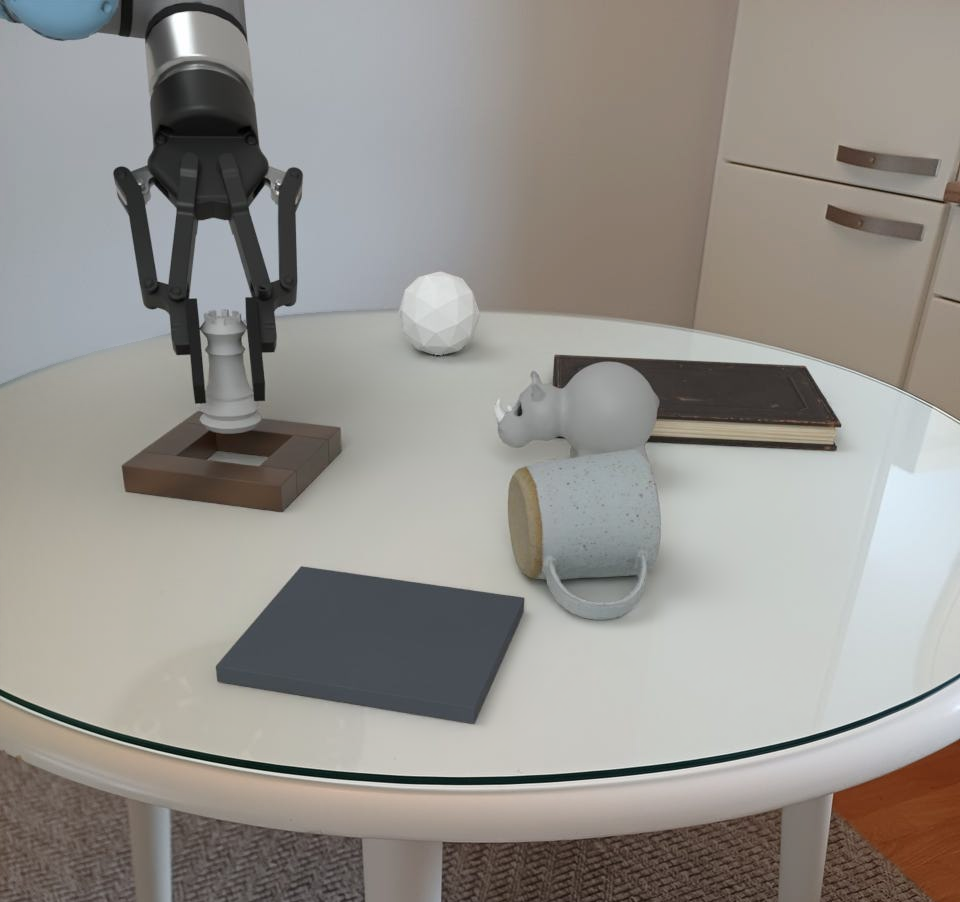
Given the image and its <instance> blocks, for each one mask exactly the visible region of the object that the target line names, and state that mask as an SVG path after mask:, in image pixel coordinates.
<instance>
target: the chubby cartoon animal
mask: <svg viewBox="0 0 960 902" xmlns="http://www.w3.org/2000/svg"><path fill="white" fill-rule="evenodd" d="M530 378H531V383H530V384H529V385H528V387H526V388H525V389H524V390H523V391H522V392H521V393H520V394H519V396H518V399H517V402H515V405H514V406H513V407H512V406H511V405H507V408H506V409H507V411H505V410H504V409H503V407H502V404H501V403H502V402H501V398H499V397H498V399H497V400H496V403H495V405H494V407H493V408H494V409H493V415H494V418H495V420H496V422H497V435H498V437H499V439H500V440H501V443H503V444H504V445H506V446H508V447H510V448H515V449H519V448H523V447H525V446H527V445H528V444H530V443H531V442H533V441H542V442H543V441H545V442H549V441H552V440H554V439H556V438H559V437H558V436H562V437H561V438H564V439H565V440H566V441H567V442H568V444H569V445H570V452H569V458H574V457H581V456H588V455H595V454H603V453H609V452H615V451H621V450H628V449H636V450H638V451H640V452H641V453H642V454H643V455H644V456H645V458H646V459H647V461H648V463H649V465H650V466H651V464H650V460H649V456H648V453H647V450H646V444H647V442H648V441H647V440H648V439H649V437H650V436H651V434H652V432H653V429H654V426H655V423H656V418H657V409H658V406H659V399H658V397H657V395H656V394H655V393H654V391H653V390H652V388H651V386H650V384H649V383H648V381H647V380H646V379H645V378H644V377H643V375H641V374H640V373H639V372H638V371H637V370H635V369H633V368H632V367H630V366H628V365H625V364H622V363H618V362H600V363H596V364H592V365H590V366H588V367H586V368H584V369H582V370H581V371H579V372H578V373H577V374H576V375H575V376H574V377H573V378H572V379H571V380H570V381H569V383H568V384H567V385H566V386H565V387H564V388H562V389H560V388H557V387H554V386H553V384H550V383H546V382H545V383H544V382H542V380H541V377H540V375H539V373H538V372H537V371H535V370H532V371H531V372H530Z"/></svg>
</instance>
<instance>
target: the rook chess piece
mask: <svg viewBox="0 0 960 902" xmlns="http://www.w3.org/2000/svg"><path fill="white" fill-rule="evenodd" d="M220 310H221V315H217V310H215V309H213V310H209V311H208V312H204V313H203V322H202V324H201V325H200V332H201V333H202V334H203V336H204V337H205V338H206V341H207V346H206V347H205V349H204V351H205V352H206V353H207V356H208V357H207V358H208V375H207V376H208V377H207V386H206V388H205V395H206V403H201V404H199V407H198V408H199V411H202V412H203V413H204V414H203V415H201V417H200V421H201V422H202V424H203V425H204V426H205V427H206V428H207V429H208V430H210V431H213V432H217V433H225V434H234V433H242V432H246V431H250V430H252V429H254V428H255V427H257V425H258V424H259V422H260V421H261V418H263V416H262V415H261V413H260V412H259V409H260V407H261V403H260V401H254V396H253V388H252V387H251V386H250V383H249V380H248V376H247V373H246V372H247V371H246V367H245V362H244V361H245V359H244V353H245V351H246V347H245V346H244V345H243V341H242V340H243V338H242V337H244V335H245V333H246V332H247V324H246V323H245V322H243V320H242V314H241V313H240V312H239V311H237V310H232V311H231V315H230V312H229V309H220Z"/></svg>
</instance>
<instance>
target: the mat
mask: <svg viewBox="0 0 960 902" xmlns="http://www.w3.org/2000/svg"><path fill="white" fill-rule="evenodd" d="M524 613H525V597H522V596H516V595H515V596H514V595H509V594H503V593H502V594H501V593H495V592H487V591H481V590H473V589H467V588H460V587H459V588H458V587H451V586H445V585H436V584H431V583H424V582H418V581H417V582H416V581H408V580H401V579H395V578H394V579H393V578H387V577H381V576H374V575H366V574H360V573H352V572H345V571H340V570H339V571H338V570H330V569H323V568H317V567H310V566H303V565H301V566H300V567H299V568H298V569H297V570H296V571H295V573H294V574H293V575H292V576H291V577H290V579H289V580H288V581H287V582H286V583H285V584H284V586H282V588H281V589H280V590H279V592H278V593H277V594H276V595H275V596H274V597H273V598H272V599H271V601H270V602H269V603H268V604H267V605H266V606H265V608H264V609H263V610H262V611H261V612H260V614H258V616H257V617H256V618H255V619H254V621H252V623H251V624H250V625H249V626H248V627H247V629H246V630H245V631H244V632H243V634H242V635H240V637H239V638H238V639H237V640H236V642H234V644H233V645H232V646H231V648H230V649H228V651H227V652H226V653H225V655H224V656H223V657H222V658H220V660H219V661H218V662H217V664H216V665H215V673H216V681H217V682H218V683H224V684H230V685H235V686H236V685H237V686H242V687H249V688H253V689H259V690H260V689H261V690H265V691H266V690H267V691H272V692H280V693H286V694H292V695H295V696H297V695H298V696H302V697H303V696H304V697H309V698H316V699H321V700H327V701H334V702H340V703H346V704H352V705H359V706H364V707H369V708H376V709H382V710H387V711H393V712H400V713H406V714H412V715H419V716H425V717H431V718H437V719H442V720H448V721H454V722H460V723H467V724H475V723H476V721H477V718H478V717H479V714H480V712H481V709H482V708H483V705H484V703H485V701H486V698H487V696H488V693H489V692H490V689H491V687H492V685H493V682H494V680H495V678H496V676H497V673H498V671H499V669H500V667H501V664H502V662H503V660H504V657H505V655H506V653H507V650H508V648H509V647H510V644H511V641H512V640H513V637H514V635H515V632H516V630H517V628H518V626H519V624H520V621H521V619H522V617H523V614H524Z"/></svg>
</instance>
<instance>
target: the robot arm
mask: <svg viewBox="0 0 960 902" xmlns="http://www.w3.org/2000/svg"><path fill="white" fill-rule="evenodd" d="M0 19H1V20H6V21H7V22H8V23H12V24H23V25H24V26H26V27H27V28H28V29H30V30H32V31H33V32H34V33H36V34H37V35H39V36H41V37H43V38H46V39H49V40H52V41H60V42H64V41H79V40H84V39H87V38H89V37H90V36H93V35H96V34H97V33H98V34H106V35H114V36H119V37H124V38H135V39H142V40H144V43H145V46H144V48H145V60H146V61H145V62H146V72H147V85H148V86H147V87H148V93H149V98H150V100H149V109H150V121H151V122H150V123H151V133H152V134H151V135H152V150H151V153H150V155H149V156H148V158H147V161H146V162H147V164H146V165H144V166H142V167H139V168H136V169H134V170H130V169H129V168H128V167H126V166H123V165H121V166H120V165H119V166H116V168H114V169H113V171H112V172H113V173H112V175H113V181H114V186H115V190H116V196H117V199H118V200H119V202H120V204H121V205H122V207H123V209H124V210H125V213H127V216H128V218H129V219H128V220H129V226H130V231H131V238H132V245H133V250H134V256H135V262H136V269H137V275H138V282H139V288H140V293H141V298H142V303H143V306H144V307H145V308H147V309H148V310H157V309H160V310H163V311H165V312H166V313H167V314H168V315H169V326H170V336H171V337H170V338H171V344H172V350H173V352H174V353H175V356H190V368H191V380H192V390H193V398H194V404H195V405H196V404H199V405H200V404H201V403H206V395H205V390H206V385H205V374H204V364H203V363H204V362H203V352H202V351H203V350H202V339H201V330H200V327H201V325H200V316H199V307H198V306H199V305H198V298H190V294H191V285H192V276H193V269H194V268H193V267H194V266H193V265H194V259H195V250H196V249H195V248H196V240H197V239H196V238H197V235H198V229H199V221H205V220H211V219H218V220H221V221H228V224H229V227H230V231H231V234H232V236H233V237H234V242H235V244H236V248H237V251H238V255H239V258H240V262H241V265H242V268H243V271H244V275H245V279H246V282H247V286H248V289H249V292H250V296H248V297H247V296H246V297H245V298H244V299H245V301H244V302H245V322H246V323H245V325H246V326H247V330H246V332H247V342H248V343H247V344H248V354H249V364H250V373H251V384H252V385H251V386H252V390H253V393H252V394H253V396H254V401H259V402H265V401H266V380H265V367H264V358H263V354H265V353H266V354H267V353H268V354H269V353H275V352H276V348H277V344H278V343H277V341H278V336H277V335H278V333H277V325H276V324H277V323H276V315H275V314H276V313H275V311H276V310H277V309H278V308H280V307H283V306H284V307H287V308H288V307H289V308H290V307H293V306H295V305H296V303H297V299H298V297H297V296H298V254H297V253H298V252H297V251H298V250H297V215H296V212H297V211H298V208H299V205H300V203H301V200H302V197H303V182H304V181H303V180H304V173H303V171H302V170H301V169H300V168H298V167H296V166H291V167H289V168H288V169H286V171H284V170H281V169H278V168H275V167H273V166H270V164H269V160H268V158H267V156H265V154H264V153H263V151H262V149H261V147H260V139H259V138H260V137H259V128H258V127H259V126H258V119H257V110H256V103H255V99H254V97H255V96H254V95H255V94H254V93H255V91H254V89H255V88H254V79H253V72H252V71H253V70H252V61H251V53H250V48H249V41H248V31H247V19H246V8H245V0H0ZM153 186H155V187H156V188H157V189H158V190H159V192H160V193H161V194H163V196H165V198H166V199H167V200H168V201H169V202H170V203H171V204H172V206H173V207H174V208H176V214H175V221H174V229H173V240H172V249H171V257H170V266H169V273H168V283H165V282H162V281H158V275H157V269H156V262H155V255H154V250H153V244H152V239H151V233H150V232H151V231H150V225H149V220H148V213H147V207H146V206H147V204H148V202H150V200H151V198H152V195H151V188H152V187H153ZM265 186H266V187H268V188H269V190H270V199H271V200H272V201H273V202H274V204H275V205H276V206H277V248H278V249H277V251H278V252H277V253H278V279H277V280H274V281H271V280H270V275H269V273H268V270H267V269H268V268H267V266H266V263H265V259H264V256H263V253H262V249H261V246H260V242H259V239H258V235H257V233H256V232H257V231H256V228H255V225H254V222H253V220H252V216H251V212H250V206H251V205H252V203H253V202H254V201H255V199H256V198H257V197H258V196H259V194H260V192H262V190H263V189H264V187H265Z"/></svg>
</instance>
